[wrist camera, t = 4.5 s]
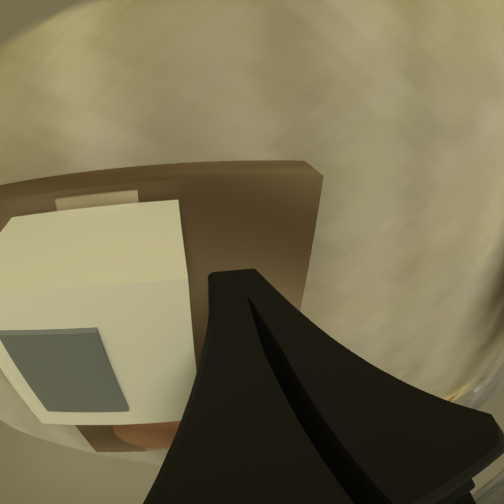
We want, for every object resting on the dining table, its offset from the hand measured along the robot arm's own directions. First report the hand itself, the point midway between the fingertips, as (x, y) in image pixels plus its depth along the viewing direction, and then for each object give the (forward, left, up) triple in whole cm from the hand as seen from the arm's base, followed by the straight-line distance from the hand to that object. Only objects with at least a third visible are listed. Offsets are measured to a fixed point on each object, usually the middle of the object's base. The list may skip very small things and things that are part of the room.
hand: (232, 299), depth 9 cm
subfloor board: (-5, +3, -3) cm, 6 cm away
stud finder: (0, +4, -1) cm, 4 cm away
